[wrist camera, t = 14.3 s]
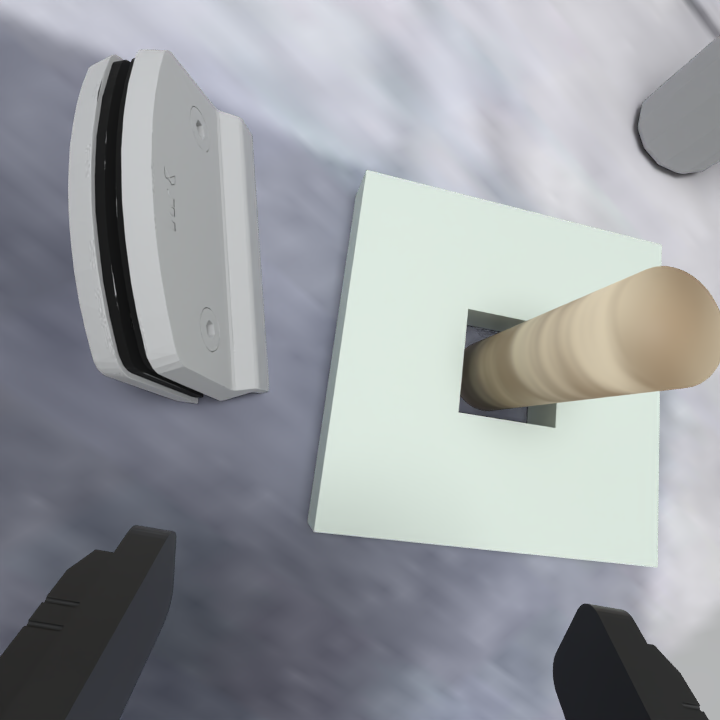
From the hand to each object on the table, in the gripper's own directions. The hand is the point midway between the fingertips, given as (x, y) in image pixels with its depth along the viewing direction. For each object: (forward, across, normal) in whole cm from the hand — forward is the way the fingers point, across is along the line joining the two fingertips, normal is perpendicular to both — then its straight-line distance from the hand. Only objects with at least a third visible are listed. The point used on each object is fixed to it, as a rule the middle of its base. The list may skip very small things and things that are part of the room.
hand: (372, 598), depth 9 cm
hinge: (+21, +11, -1) cm, 24 cm away
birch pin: (+21, -8, +3) cm, 23 cm away
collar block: (+21, -8, +3) cm, 23 cm away
